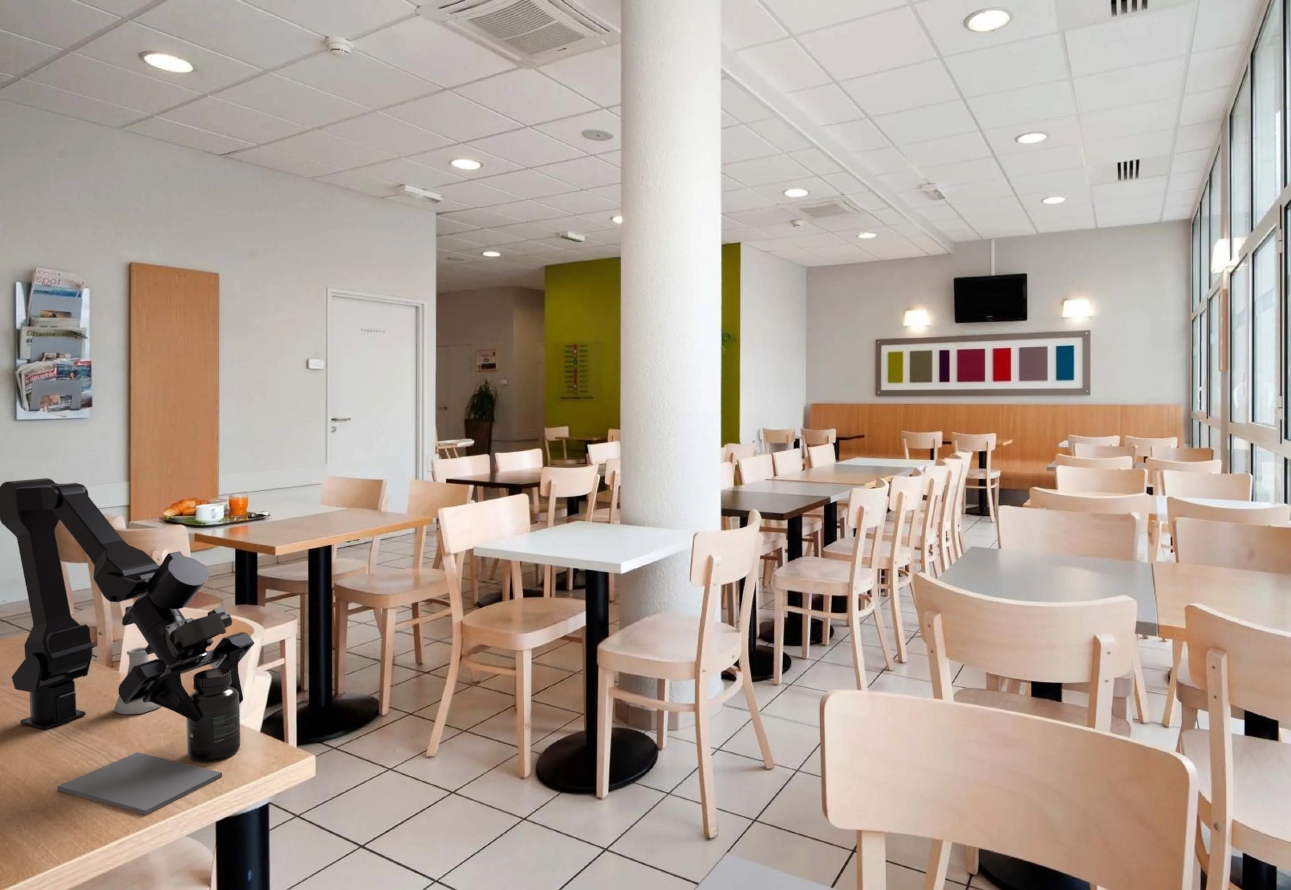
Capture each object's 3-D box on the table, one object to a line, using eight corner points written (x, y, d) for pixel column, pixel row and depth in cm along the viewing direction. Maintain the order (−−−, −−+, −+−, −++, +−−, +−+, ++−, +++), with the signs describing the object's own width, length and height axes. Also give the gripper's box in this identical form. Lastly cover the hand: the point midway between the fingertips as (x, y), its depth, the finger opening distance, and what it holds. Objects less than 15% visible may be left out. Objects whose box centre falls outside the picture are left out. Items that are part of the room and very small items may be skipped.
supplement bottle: (180, 754, 116) (178, 673, 116) (229, 739, 122) (227, 662, 121) (198, 768, 112) (195, 684, 111) (248, 752, 117) (246, 672, 116)
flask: (141, 717, 130) (139, 657, 129) (104, 714, 131) (102, 654, 131) (175, 701, 137) (174, 644, 137) (140, 698, 138) (138, 642, 138)
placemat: (57, 790, 105) (57, 785, 105) (137, 756, 116) (137, 752, 116) (145, 815, 99) (145, 810, 99) (222, 776, 109) (221, 772, 109)
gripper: (129, 609, 108) (189, 700, 105) (244, 581, 126) (298, 658, 122) (92, 659, 112) (149, 748, 108) (209, 624, 129) (261, 700, 125)
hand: (220, 710), depth 116 cm, fingers closed on supplement bottle, 7 cm apart
